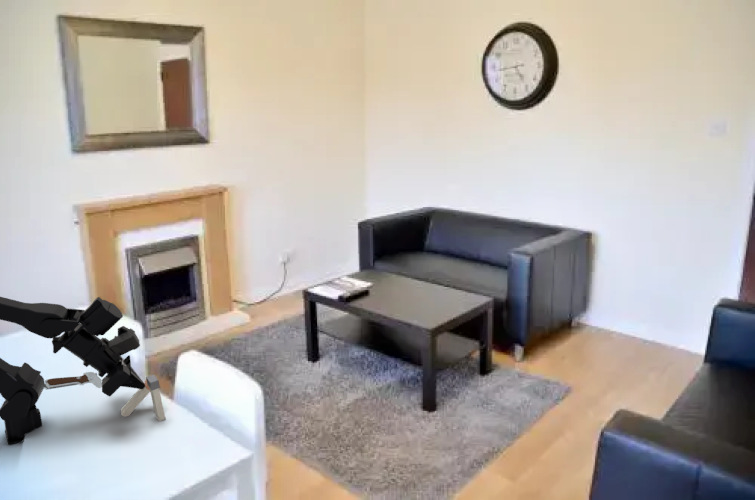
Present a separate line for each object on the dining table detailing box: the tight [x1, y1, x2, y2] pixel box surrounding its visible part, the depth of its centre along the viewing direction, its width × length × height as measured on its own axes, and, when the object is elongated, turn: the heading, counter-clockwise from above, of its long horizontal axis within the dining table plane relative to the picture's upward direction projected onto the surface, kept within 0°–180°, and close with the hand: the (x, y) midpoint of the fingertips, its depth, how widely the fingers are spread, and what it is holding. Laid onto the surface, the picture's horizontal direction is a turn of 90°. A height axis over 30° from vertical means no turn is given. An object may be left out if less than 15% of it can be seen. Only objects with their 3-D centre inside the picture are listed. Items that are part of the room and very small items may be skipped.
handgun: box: [44, 371, 102, 390], centre depth 152 cm, size 2×23×12 cm
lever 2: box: [145, 373, 166, 422], centre depth 137 cm, size 2×3×10 cm, turn 36°
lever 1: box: [120, 374, 152, 418], centre depth 141 cm, size 2×3×10 cm
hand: (144, 387), depth 141 cm, fingers closed, pressing on lever 1
